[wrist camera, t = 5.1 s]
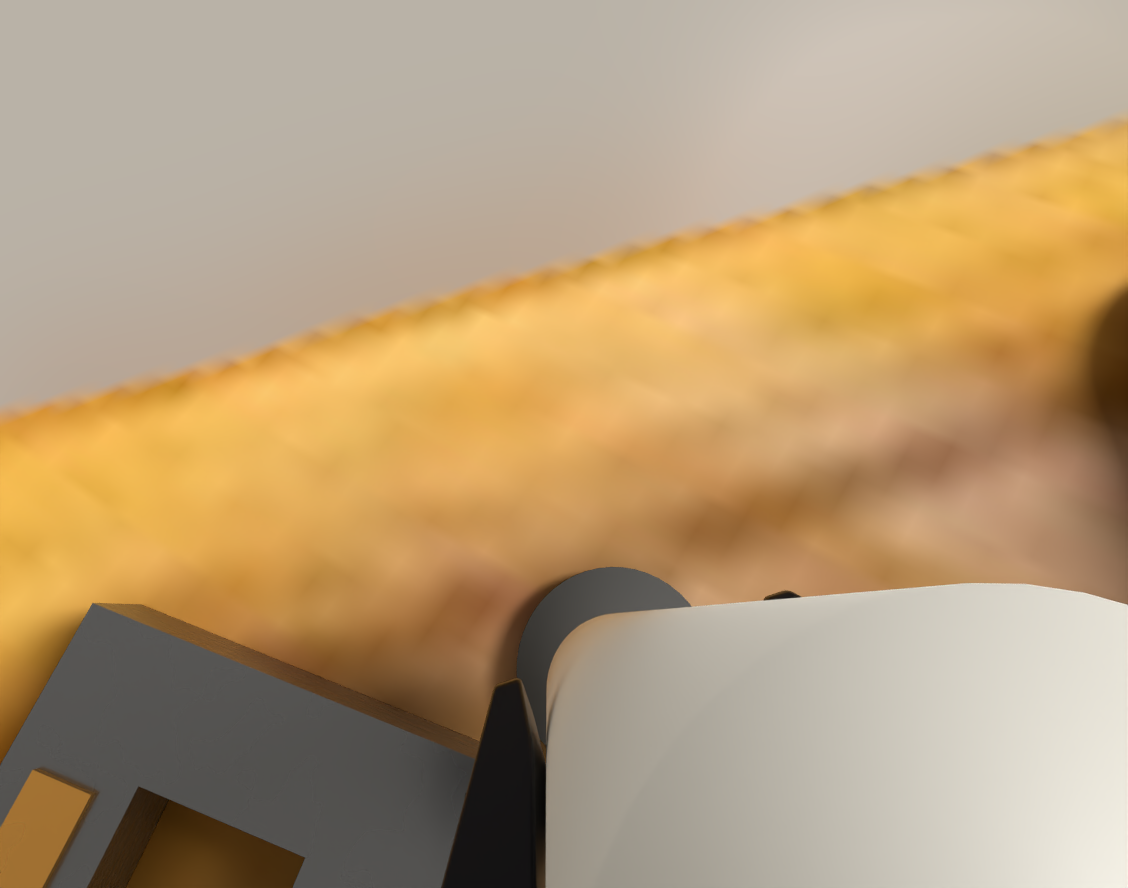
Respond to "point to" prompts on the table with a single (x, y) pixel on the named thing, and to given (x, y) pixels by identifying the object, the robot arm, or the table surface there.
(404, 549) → the table surface
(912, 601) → the peg
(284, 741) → the rack plate
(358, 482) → the table surface
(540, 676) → the pad
